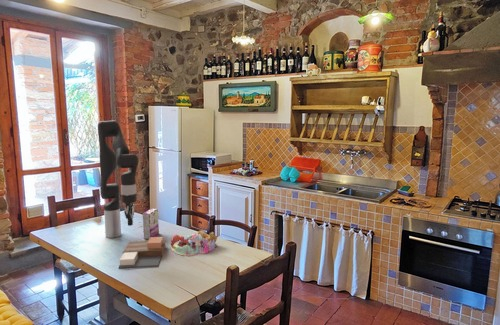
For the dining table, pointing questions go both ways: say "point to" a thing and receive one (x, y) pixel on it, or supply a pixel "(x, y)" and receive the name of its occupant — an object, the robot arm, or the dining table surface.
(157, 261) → the rubber mat
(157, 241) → the terracotta tile
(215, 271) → the dining table surface
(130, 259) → the cream tile
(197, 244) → the candy landscape model
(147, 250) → the walnut board
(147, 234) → the candy bar box
